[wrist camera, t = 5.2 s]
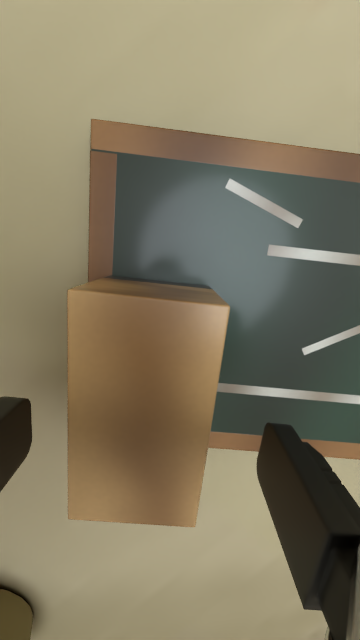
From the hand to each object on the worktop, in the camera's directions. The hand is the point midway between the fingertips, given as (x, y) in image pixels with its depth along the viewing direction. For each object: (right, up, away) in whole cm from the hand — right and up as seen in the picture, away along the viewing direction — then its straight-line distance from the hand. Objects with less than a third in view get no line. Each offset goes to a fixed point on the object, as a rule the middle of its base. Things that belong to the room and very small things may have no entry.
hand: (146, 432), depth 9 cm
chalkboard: (+7, +4, +6) cm, 10 cm away
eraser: (0, +1, +5) cm, 5 cm away
